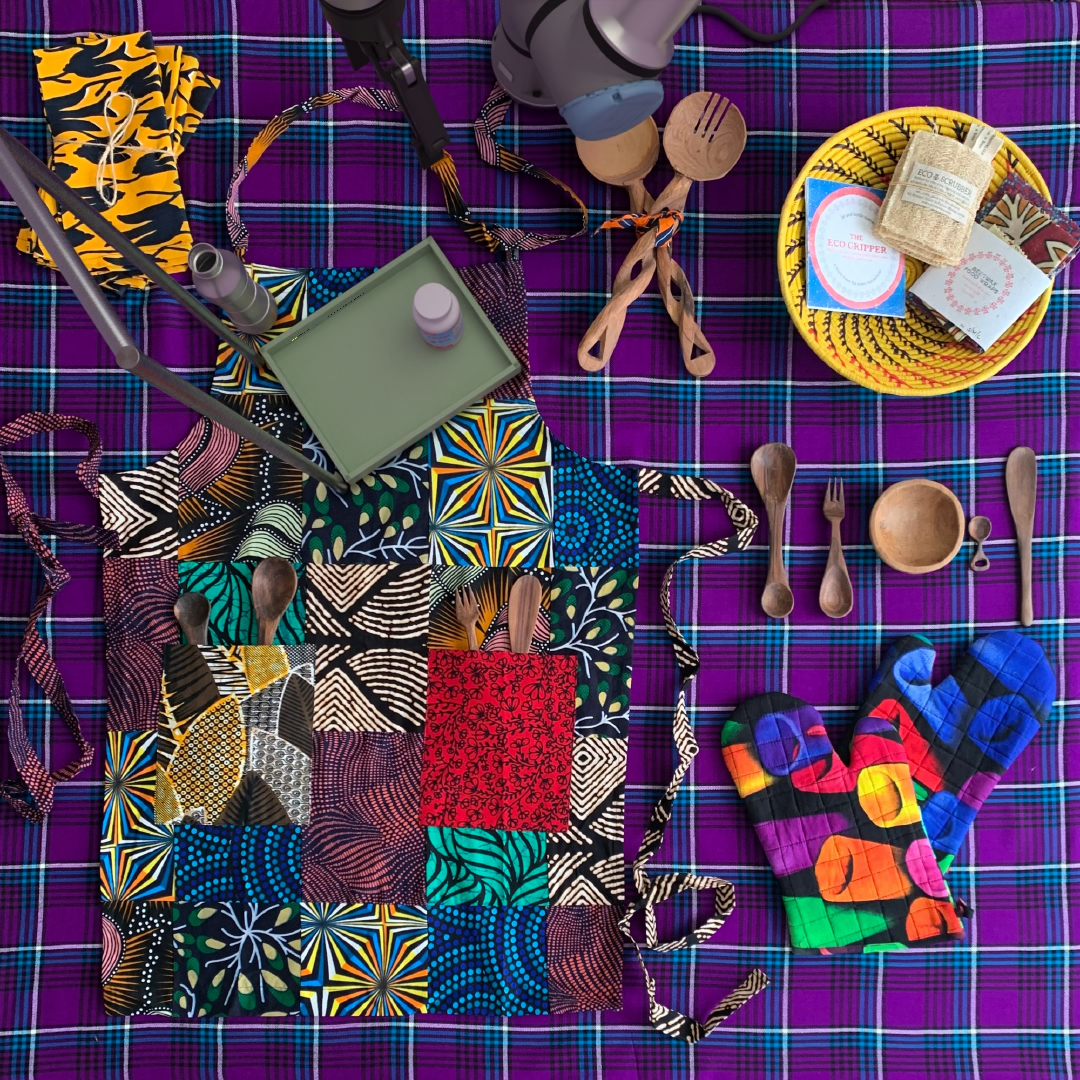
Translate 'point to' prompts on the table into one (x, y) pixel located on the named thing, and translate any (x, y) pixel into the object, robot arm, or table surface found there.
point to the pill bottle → (438, 316)
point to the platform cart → (300, 342)
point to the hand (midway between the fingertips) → (397, 111)
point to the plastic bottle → (232, 288)
